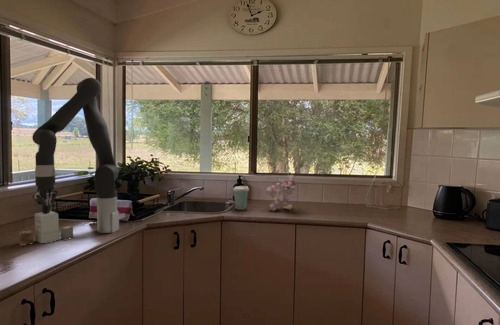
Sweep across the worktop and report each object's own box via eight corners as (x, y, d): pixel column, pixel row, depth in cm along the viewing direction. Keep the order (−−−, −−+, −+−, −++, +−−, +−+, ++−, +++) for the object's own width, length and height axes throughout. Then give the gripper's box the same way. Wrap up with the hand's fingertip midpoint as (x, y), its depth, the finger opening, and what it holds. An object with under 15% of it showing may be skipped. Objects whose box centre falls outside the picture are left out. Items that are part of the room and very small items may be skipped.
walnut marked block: (32, 241, 149) (32, 229, 149) (33, 244, 145) (33, 232, 145) (19, 243, 146) (18, 231, 146) (19, 246, 142) (19, 234, 142)
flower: (263, 202, 238) (262, 173, 225) (294, 199, 239) (295, 170, 226) (266, 221, 221) (265, 190, 208) (300, 218, 222) (301, 187, 209)
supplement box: (52, 237, 155) (52, 210, 154) (59, 240, 150) (58, 213, 149) (34, 241, 149) (34, 213, 148) (41, 244, 144) (40, 216, 143)
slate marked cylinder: (75, 237, 156) (75, 226, 155) (68, 240, 151) (68, 229, 150) (65, 236, 157) (65, 225, 156) (58, 239, 152) (58, 228, 151)
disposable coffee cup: (239, 211, 216) (240, 188, 214) (229, 208, 223) (229, 186, 222) (251, 209, 223) (252, 187, 221) (241, 206, 231) (241, 184, 229)
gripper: (41, 177, 140) (42, 217, 142) (63, 173, 153) (64, 210, 155) (25, 176, 141) (26, 216, 143) (48, 172, 154) (49, 209, 156)
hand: (46, 213), depth 149 cm, fingers closed
